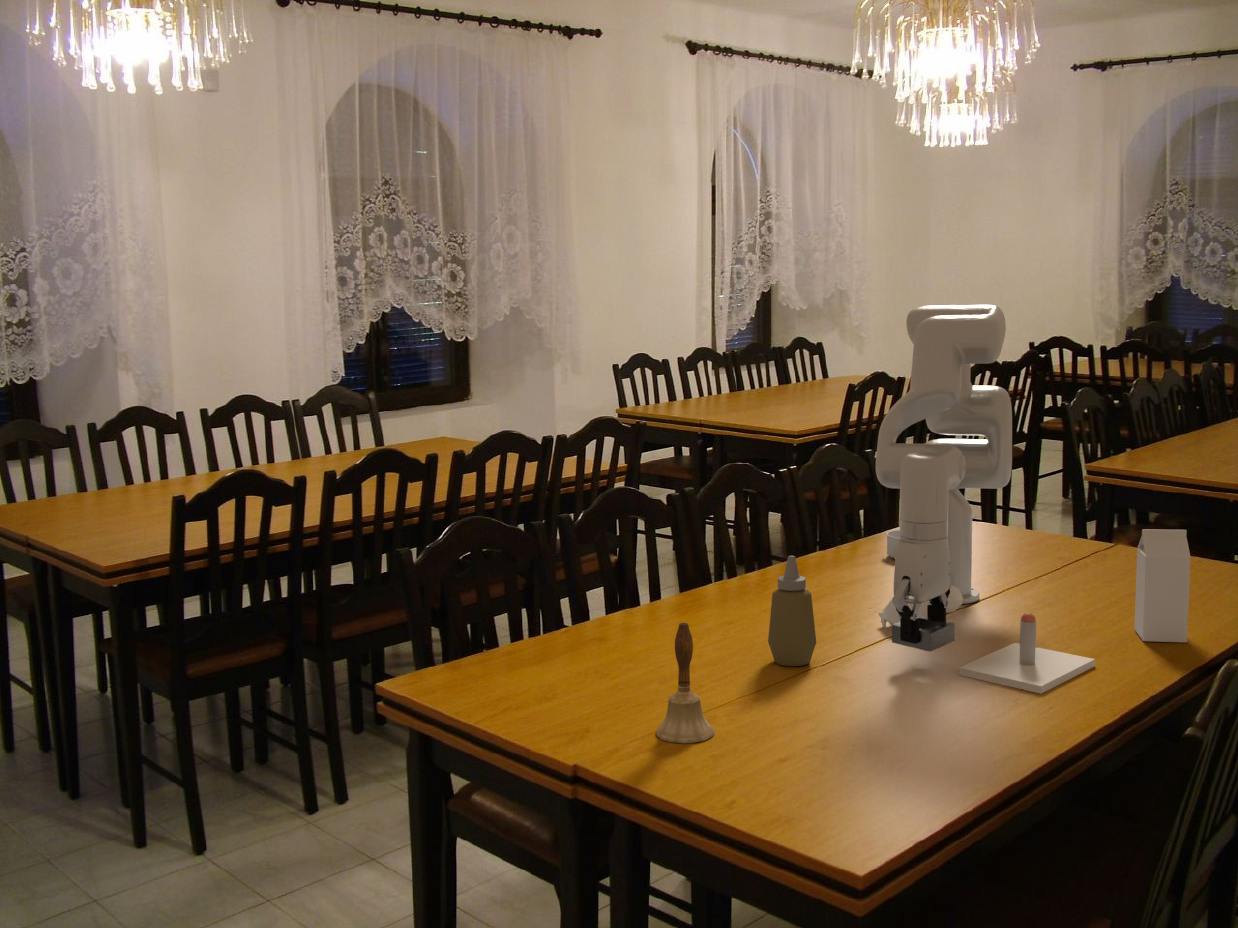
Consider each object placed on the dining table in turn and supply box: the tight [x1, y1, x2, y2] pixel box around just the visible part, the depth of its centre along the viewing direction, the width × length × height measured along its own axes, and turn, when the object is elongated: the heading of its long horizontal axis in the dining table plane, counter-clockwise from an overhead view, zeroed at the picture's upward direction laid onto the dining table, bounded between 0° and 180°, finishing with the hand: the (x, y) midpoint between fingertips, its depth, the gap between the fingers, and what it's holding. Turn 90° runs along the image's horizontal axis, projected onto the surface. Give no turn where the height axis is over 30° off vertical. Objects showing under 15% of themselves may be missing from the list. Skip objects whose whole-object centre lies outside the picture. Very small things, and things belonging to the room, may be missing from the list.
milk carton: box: [1134, 528, 1191, 643], centre depth 213 cm, size 7×7×19 cm
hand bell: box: [655, 622, 716, 744], centre depth 174 cm, size 8×8×16 cm
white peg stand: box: [958, 612, 1096, 695], centre depth 198 cm, size 14×18×10 cm
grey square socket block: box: [891, 615, 956, 653], centre depth 201 cm, size 7×7×3 cm
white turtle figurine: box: [878, 586, 963, 628], centre depth 223 cm, size 8×8×15 cm
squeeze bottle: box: [767, 555, 817, 667], centre depth 205 cm, size 8×8×18 cm
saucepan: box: [884, 529, 901, 559], centre depth 277 cm, size 12×20×6 cm, turn 42°
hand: (923, 634), depth 201 cm, fingers closed on grey square socket block, 7 cm apart
